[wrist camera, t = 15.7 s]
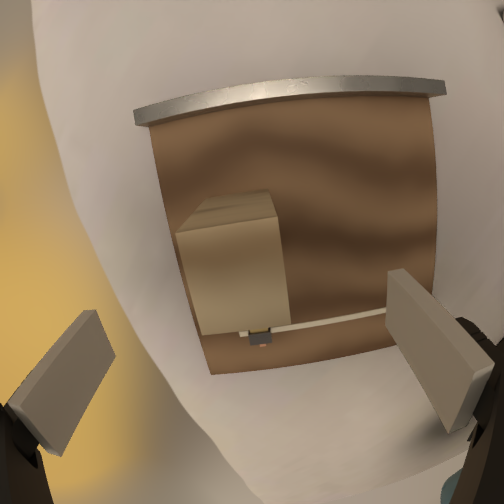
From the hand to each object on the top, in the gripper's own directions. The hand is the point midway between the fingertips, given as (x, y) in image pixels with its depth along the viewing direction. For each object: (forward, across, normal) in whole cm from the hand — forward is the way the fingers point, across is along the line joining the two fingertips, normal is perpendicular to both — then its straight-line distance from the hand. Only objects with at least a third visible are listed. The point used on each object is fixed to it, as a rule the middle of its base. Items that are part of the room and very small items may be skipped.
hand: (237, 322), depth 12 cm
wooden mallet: (+13, 0, +3) cm, 14 cm away
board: (+14, -6, +2) cm, 15 cm away
